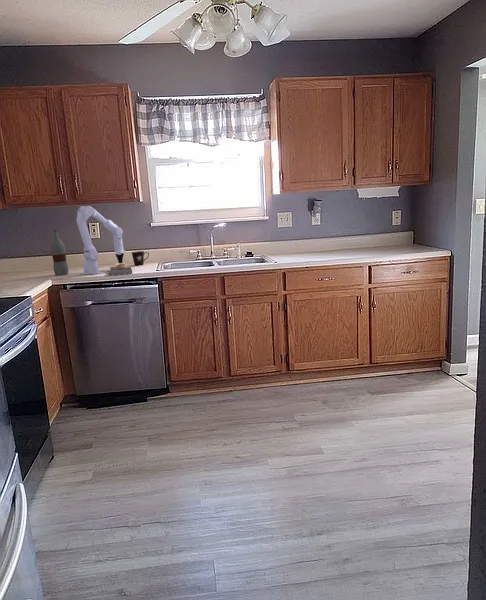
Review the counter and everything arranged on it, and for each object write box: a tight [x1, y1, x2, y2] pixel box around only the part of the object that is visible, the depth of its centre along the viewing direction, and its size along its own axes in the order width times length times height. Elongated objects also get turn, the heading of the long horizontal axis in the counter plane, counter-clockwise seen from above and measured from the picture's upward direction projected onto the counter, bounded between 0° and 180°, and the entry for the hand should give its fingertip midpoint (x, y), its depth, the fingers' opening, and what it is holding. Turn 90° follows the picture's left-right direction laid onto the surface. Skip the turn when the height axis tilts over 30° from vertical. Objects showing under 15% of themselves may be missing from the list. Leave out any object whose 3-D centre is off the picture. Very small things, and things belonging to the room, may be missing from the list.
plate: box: [109, 264, 132, 271], centre depth 314 cm, size 14×12×2 cm
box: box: [109, 266, 133, 276], centre depth 303 cm, size 14×10×3 cm
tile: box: [115, 262, 126, 268], centre depth 313 cm, size 6×6×2 cm
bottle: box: [50, 229, 69, 277], centre depth 309 cm, size 9×9×30 cm
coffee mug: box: [131, 250, 150, 267], centre depth 337 cm, size 12×9×10 cm
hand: (120, 264), depth 322 cm, fingers closed
